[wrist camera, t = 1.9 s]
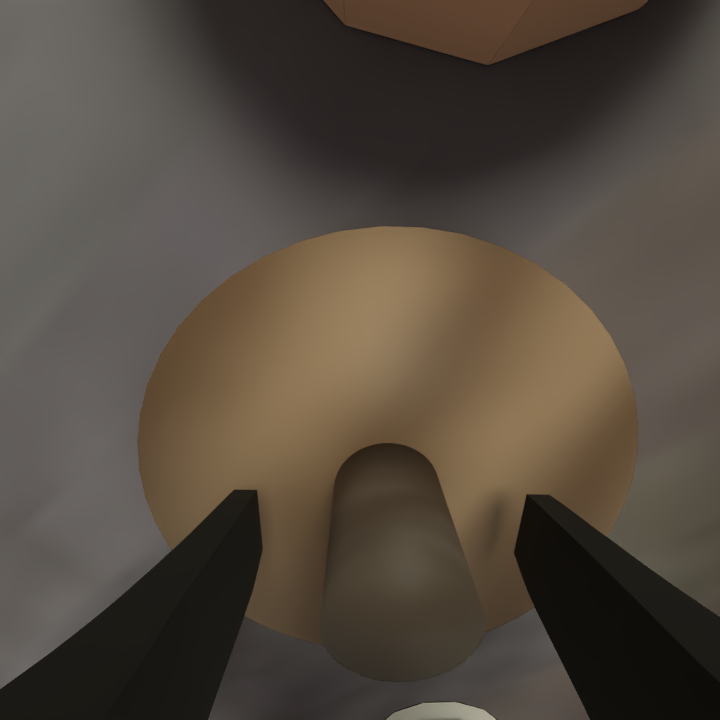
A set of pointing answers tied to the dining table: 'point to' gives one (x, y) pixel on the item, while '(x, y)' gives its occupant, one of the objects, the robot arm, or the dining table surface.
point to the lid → (388, 435)
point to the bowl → (479, 22)
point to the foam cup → (441, 712)
